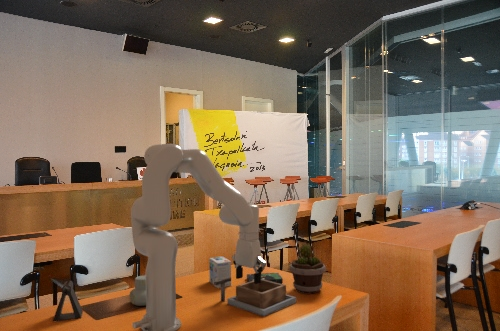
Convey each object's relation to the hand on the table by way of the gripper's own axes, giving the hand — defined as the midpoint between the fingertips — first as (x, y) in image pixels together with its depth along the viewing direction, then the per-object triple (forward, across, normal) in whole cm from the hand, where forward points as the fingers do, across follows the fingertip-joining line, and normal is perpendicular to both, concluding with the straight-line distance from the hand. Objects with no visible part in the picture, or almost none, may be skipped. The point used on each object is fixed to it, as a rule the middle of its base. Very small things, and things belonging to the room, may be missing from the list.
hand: (248, 280), depth 157 cm
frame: (+7, +6, +1) cm, 9 cm away
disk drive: (+7, -12, +23) cm, 27 cm away
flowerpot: (+7, +10, +25) cm, 28 cm away
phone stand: (+10, -36, -54) cm, 65 cm away
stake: (+8, -7, -7) cm, 12 cm away
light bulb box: (+8, -24, +7) cm, 26 cm away
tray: (+7, +6, +1) cm, 10 cm away
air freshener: (+9, -28, -29) cm, 41 cm away
